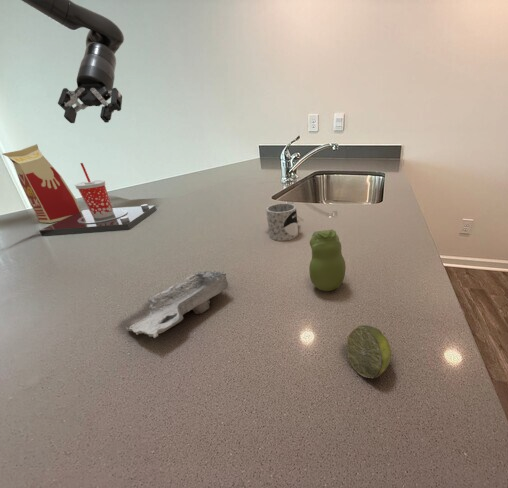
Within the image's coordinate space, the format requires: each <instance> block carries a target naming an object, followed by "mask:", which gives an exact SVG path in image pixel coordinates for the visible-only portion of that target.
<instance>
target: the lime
mask: <svg viewBox="0 0 508 488" xmlns="http://www.w3.org/2000/svg"><path fill="white" fill-rule="evenodd" d="M346 352H347V358H348V359H349V363H350V365H351V367H352V368H353V370H354V371H355V372H356V373H357V374H358V375H360V376H361V377H363V378H367V379H371V380H373V379H376V378H378V377H380V376H381V375H382V374H383V373H384V372H385V371H386V370H387V368H388V367H389V366H390V363H391V361H392V349H391V346H390V342H389V339H388V338H387V337H386V336H385V335H384V334H383V333H382V330H380V329H379V328H377V327H374V326H371V325H357V326H356V327H355V328H354V329H353V330H352V331H351V332H350V333H349V334H348V337H347V345H346Z"/></svg>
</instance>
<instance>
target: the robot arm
mask: <svg viewBox="0 0 508 488" xmlns="http://www.w3.org/2000/svg"><path fill="white" fill-rule="evenodd" d="M20 1H21V2H22V3H24V4H26V5H28V6H29V7H31V8H33V9H34V10H36V11H37V12H39V13H40V14H42V15H44V16H45V17H47V18H49V19H50V20H52V21H54V22H55V23H57V24H59V25H61V26H63V27H64V28H65V29H67V30H69V31H73V32H76V31H78V30H80V29H82V28H84V29H87V30H89V31H88V32H87V35H86V38H85V51H84V53H83V58H82V59H81V61H80V63H79V64H80V65H79V68H78V71H77V76H76V86H77V87H76V88H75V89H74V90H69V88H67V87H65V88H62V90H61V94H60V96H59V98H58V101H57V105H58V106H59V107H61V109H63V110H64V113H63V118H64V119H65V120H66V121H68V122H69V123H70V124H75V123H76V119H77V116H78V115H77V114H78V112H79V111H82V110H85V109H87V108H89V107H100V106H101V110H100V114H99V115H100V116H99V117H100V119H101V120H102V121H103V122H104V123H109V122H110V121H111V120H112V114H113V113H114V112H115V111H117V112H121V110H122V104H123V95H122V94H121V92H120V91H119V90H118V89H117V87H114V84H115V79H116V74H115V73H116V68H117V58H116V53H117V52H118V50H119V49H120V47H122V45H123V43H124V41H125V35H124V33H123V31H122V30H121V29H120V28H119V26H118V25H117V24H116V23H115V22H113V21H112V20H111V19H109V18H107V17H105V16H104V15H102V14H99V13H97V12H95V11H93V10H91V9H88V8H86V7H84V6H81V5H79V4H77V3H75V2H74V1H72V0H20ZM78 100H79V101H78ZM108 100H110V102H107V101H108ZM80 102H81V103H80ZM74 105H75V106H74ZM102 105H103V106H102Z"/></svg>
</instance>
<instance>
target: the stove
mask: <svg viewBox="0 0 508 488" xmlns="http://www.w3.org/2000/svg"><path fill="white" fill-rule="evenodd" d="M112 209H113V212H114V214H113V215H111V216H108V217H104V218H93V216H92V214H91V212H90V210H89V209H83V210H81V212H78V213H76V214H74V215H72V216H70V217H67V218H65V219H63V220H61V221H57V222H53V223H51V224H50V225H48V226H46V227H43V228H41V229H39V230H38V231H39V233H40V235H41V237H47V236H59V235H74V234H75V235H76V234H87V233H101V232H115V231H128V230H131V229H132V228H133V227H135V226H137V225H138V224H139V223H141V222H142V221H143V220H145V219H147V217H149V216H150V215H152V214H153V213H154V212H156V211H157V207H156V205H154V204H153V205H149V204H147V203H144V204H140V205H139V206H125V207H112Z"/></svg>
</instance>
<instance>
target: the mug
mask: <svg viewBox="0 0 508 488" xmlns="http://www.w3.org/2000/svg"><path fill="white" fill-rule="evenodd" d="M265 211H266V212H265V213H266V219H267V225H268V227H267V228H268V234H269V238H270V239H271V240H273V241H278V242H285V241H290V240H293V239H296V238H297V237H298V236H299V228H298V227H299V225H298V213H297V205H296V204H293V203H288V202H286V203H285V202H282V203H281V202H279V203H275V204H274V203H273V204H270V205H268V206H267V207H266V208H265Z"/></svg>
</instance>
